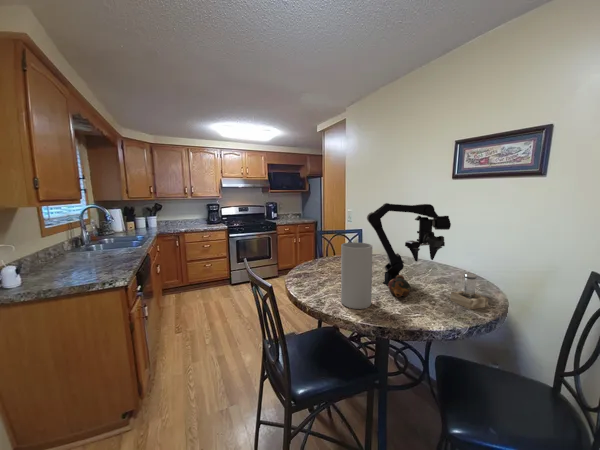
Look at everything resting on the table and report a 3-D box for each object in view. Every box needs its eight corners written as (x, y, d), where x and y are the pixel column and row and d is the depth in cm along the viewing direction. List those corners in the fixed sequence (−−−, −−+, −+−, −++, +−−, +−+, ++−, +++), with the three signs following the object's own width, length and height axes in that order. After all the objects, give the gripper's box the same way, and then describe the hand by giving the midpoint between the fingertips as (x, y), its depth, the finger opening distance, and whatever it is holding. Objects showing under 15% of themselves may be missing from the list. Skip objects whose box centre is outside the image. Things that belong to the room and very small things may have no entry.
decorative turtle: (408, 290, 116) (410, 274, 115) (411, 305, 102) (413, 287, 101) (387, 286, 119) (388, 271, 118) (387, 300, 105) (388, 283, 104)
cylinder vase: (366, 312, 94) (367, 249, 91) (336, 305, 100) (336, 246, 98) (374, 301, 104) (375, 244, 102) (347, 295, 111) (347, 241, 108)
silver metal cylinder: (465, 305, 99) (466, 275, 98) (460, 301, 103) (462, 272, 102) (476, 306, 98) (478, 276, 97) (471, 301, 102) (473, 273, 101)
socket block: (469, 309, 95) (470, 300, 95) (450, 300, 104) (451, 292, 103) (487, 306, 97) (488, 298, 97) (467, 298, 106) (467, 290, 106)
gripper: (421, 232, 109) (419, 266, 110) (455, 230, 113) (453, 263, 115) (404, 229, 119) (403, 260, 121) (436, 228, 124) (435, 257, 125)
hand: (424, 260), depth 120 cm, fingers open, 9 cm apart
